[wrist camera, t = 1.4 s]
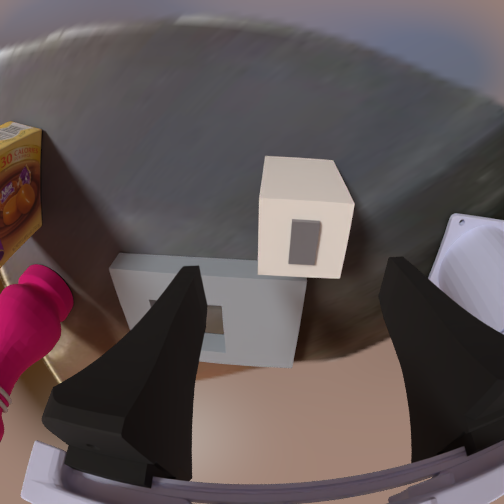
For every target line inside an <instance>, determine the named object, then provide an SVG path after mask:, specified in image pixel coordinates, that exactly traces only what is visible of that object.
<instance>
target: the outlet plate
mask: <svg viewBox="0 0 504 504" xmlns="http://www.w3.org/2000/svg"><path fill="white" fill-rule="evenodd" d="M198 265H199V267H200V272H201V277H202V282H203V287H204V291H205V296H206V301H207V305H216V306H222V314H223V326H224V335H223V334H211V333H205V334H204V339H203V344H202V349H201V354H200V359H199V361H201V362H211V363H221V364H232V365H245V366H260V367H280V368H292V366H293V360H294V355H295V350H296V344H297V339H298V333H299V327H300V321H301V315H302V309H303V303H304V297H305V291H306V284H307V277H291V276H272V275H258V260H239V259H220V258H202V257H184V256H166V255H149V254H132V253H119V254H118V255H117V257H116V258H115V260H114V261H113V263H112V264H111V266H110V267H109V271H110V274H111V277H112V281H113V284H114V287H115V289H116V292H117V295H118V298H119V301H120V304H121V307H122V309H123V312H124V315H125V317H126V320H127V323H128V325H129V328H130V330H131V329H132V328H133V327H134V326H135V325H136V324H137V323H138V322H139V321H140V320H141V319H142V317H143V316H144V315H145V314H146V313H147V312H148V310H149V309H150V308H151V307H152V306H153V305H154V303H155V302H156V301H157V300H158V298H159V297H160V296H161V294H162V293H163V292H164V291H165V289H166V288H167V287H168V285H169V284H170V283H171V281H172V280H173V279H174V277H175V276H176V275H177V273H178V272H179V271H180V269H181V268H182V267H183V266H198Z"/></svg>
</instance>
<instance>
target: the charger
mask: <svg viewBox="0 0 504 504" xmlns="http://www.w3.org/2000/svg"><path fill="white" fill-rule="evenodd" d="M354 205H355V204H354V202H353V200H352V197H351V195H350V193H349V191H348V189H347V187H346V185H345V183H344V181H343V179H342V177H341V175H340V173H339V171H338V169H337V167H336V165H335V163H334V161H333V160H322V159H308V158H293V157H273V156H265V162H264V169H263V176H262V183H261V190H260V196H259V236H258V275H272V276H291V277H313V278H336V279H340V276H341V271H342V266H343V262H344V257H345V252H346V247H347V243H348V237H349V232H350V227H351V222H352V216H353V211H354Z"/></svg>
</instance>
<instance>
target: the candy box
mask: <svg viewBox="0 0 504 504" xmlns="http://www.w3.org/2000/svg"><path fill="white" fill-rule="evenodd" d="M41 135H42V130H41V129H39V128H35V127H31V126H27V125H23V124H19V123H16V122H12V121H10V122H7V123H5V124H2V125H0V268H1V267H2V266H3V265H4V264H5V263H6V261H7V260H8V259H9V258H10V257H11V256H12V255H13V254H14V253H15V252H16V251H17V250H18V249H19V248H20V247H21V246H22V245H23V244H24V243H25V242H26V241H27V240H28V239H29V238H30V237H31V236H32V235H33V234H34V233H35V232H36V231H37V230H38V229H39V228H40V227H41V226H42V215H41V199H40V159H41Z"/></svg>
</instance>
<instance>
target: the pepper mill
mask: <svg viewBox="0 0 504 504" xmlns="http://www.w3.org/2000/svg"><path fill="white" fill-rule="evenodd" d="M73 303H74V302H73V296H72V293H71V291H70V289H69V287H68V286H67V284H66V283H65V282H64V280H63V279H62V278H61V277H60V276H59V275H58V274H57V273H56V272H54V271H53V270H51V269H49V268H48V267H46V266H43V265H37V264H35V265H31V266H29V267H28V268H27V270H26V271H25V272H24V273H23V274H22V275H21V277H20V278H19V284H13V285H9V286H7V287H6V288H5V289H4V290H3V291H2V293H1V294H0V442H1V440H2V437H3V434H4V425H3V420H2V416H1V415H2V412H4V413H6V412H7V411H8V409H7V407H8V406H9V404H11V403H12V400H11V398H10V394H11V391H12V389H13V387H14V384H15V383H16V382H17V380H18V378H19V377H20V375H21V374H22V373H23V372H24V371H25V370H26V369H27V368H28V367H29V366H31V365H32V364H33V363H35V362H37V361H38V360H40V359H41V358H43V357H44V356H46V355H47V354H48V353H49V352H50V351H51V350H52V349H53V347H54V346H55V345H56V343H57V342H58V340H59V338H60V336H61V324H60V322H62V321H64V320H65V319H66V317H67V316H68V314H69V312H70V311H71V309H72V307H73Z"/></svg>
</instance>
